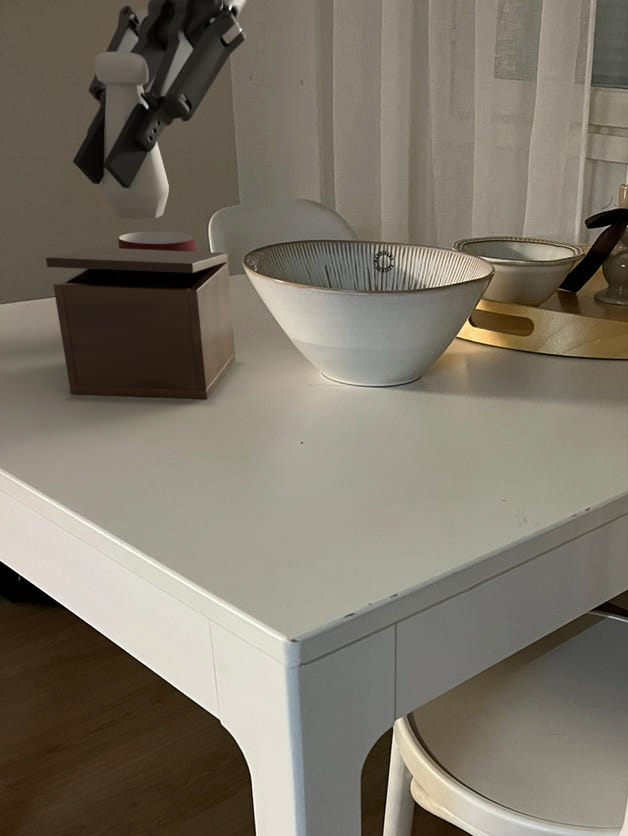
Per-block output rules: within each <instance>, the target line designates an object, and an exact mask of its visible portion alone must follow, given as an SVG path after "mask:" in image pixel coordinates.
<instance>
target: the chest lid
mask: <svg viewBox="0 0 628 836" xmlns="http://www.w3.org/2000/svg"><path fill="white" fill-rule="evenodd" d="M228 261H229V259H228V253H227V252H215V251H214V252H210V251H196V252H190V251H166V250H142V249H119V247H118V248H117V247H116V248H115V247H97V248H90V249H85V250H80V251H75V252H69V253H62V254H57V255H52V256H46V257H45V263H46V267H47V268H59V269H81V268H82V269H107V270H131V271H155V272H179V273H194V272H197V271H200V270H203V269H206V268H209V267H212V266H215V265H218V264H221V263H224V262H228Z"/></svg>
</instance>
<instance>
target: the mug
mask: <svg viewBox="0 0 628 836" xmlns="http://www.w3.org/2000/svg"><path fill="white" fill-rule="evenodd" d="M117 240H118V248H119V249H142V250H166V251H190V252H197V245H196V238H195V236H193V235H192V234H188V233H183V232H177V231H138V232H131V233H130V232H129V233H125V234H121V235H119V236H118V239H117Z"/></svg>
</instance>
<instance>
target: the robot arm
mask: <svg viewBox="0 0 628 836" xmlns="http://www.w3.org/2000/svg"><path fill="white" fill-rule="evenodd" d="M247 1H248V0H148V3H147V7H146V8H144V9H142V10H138V11H136V12H135V11H134V10H133V9H132V7H131V6H130V5H125V6H123V7H122V8H121V9H120V10H119V13H118V21H117V27H116V30H115V32H114V34H113V35H112V38H111V40H110V42H109V45H108V46H107V48H106V49H107V50H106V51H105V52H130V53H136V54H138V55H141V56H142V57H143V58H144V59H145V60H146V64H147V67H148V77H149V78H148V82H147V83H145V84H144V85H142V86H143V90H144V92H143V93H141V97H142V98H143V100H144V101H145V102H146V104H147V105H148V109H146V107H145V106H144V105H143V104H141V103H137V104H136V106H135V107H134V109H133V110H132V112H131V114H130V116H129V118H128V119H127V121H126V123H125V125H124V127H123V129H122V131H121V132H120V134H119V136H118V138H117V140H116V142H115V144H114V145H113V147H112V149H111V151H110V153H109V155H108V157H107V159H106V160H105V162H104V127H105V108H106V84H105V83H103V82H100V81H98V78H97V76H96V73H95V75H94V76H93V79H92V81H91V83H90V85H89V87H88V93H90V95H91V96H92V97H93V99H94V100H95V101H96V102H97V104H98V105H99V108H98V110H97V112H96V113H95V115H94V117H93V119H92V120H91V123H90V125H89V126H88V127H87V130H86V131H87V133H86V136H85V138H84V140H83V141H82V143H81V145H80V147H79V148H78V150H77V153H76V155H75V156H74V158H73V160H72V162H73V163H74V165H75V166H76V167H77V168H78V169H79V170H80V171H81V173H82V174H83V175H84V176H85V177H86V178H87V179H88V180H89V181H90V182H91V183H92V184H93V185H101V184H100V183H102V178H103V176H104V167H105V168H106V169H107V170H108V171H109V172H110V174H111V175H112V176H113V177H114V178H115V179H116V180H117V181H118V183H119V184H120V185H121V186H122V187H123V188H130V186H131V184H132V182H133V180H134V178H135V176H136V175H137V173H138V171H139V169H140V167H141V165H142V163H143V161H144V159H145V158H146V156H147V153H148V152H150V151H151V150H152V149H153V148H154V147H155V145H156V142H157V143H158V141H159V138H160V137H161V135H162V133H163V131H164V129H165V127H167V126H170V125H172V123H173V122H174V121H175V120H176V119H180V120H181V121H182V122H188V121H190V120H191V119H192V117H193V116H194V115H195V113H196V112H197V110H198V108H199V106H200V104H201V103H202V101H203V100H204V98H205V96H206V95H207V93H208V91H209V90H210V88H211V87H212V85H213V83H214V81H215V80H216V78H217V76H218V75H219V74H220V72H221V71H222V69H223V68H224V65H225V64H226V62H227V60H228V59H229V58H230V56H231V54H232V53H234V52H235V50H236V49H237V48H238V47H240V46H241V44H242V43H243V42H244V41H245V40H246V38H247V34H246V33H245V30H244V29H243V28H242V26H241V24H240V23H239V22H238V19H239V17H240V14H241V12H242V11H243V8H244V7H245V5H246V3H247ZM151 83H152V84H151ZM150 84H151V87H150V89H149V91H147V89H148V88H149V86H150ZM144 95H145V96H144ZM184 97H185V99H184Z"/></svg>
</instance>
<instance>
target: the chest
mask: <svg viewBox="0 0 628 836" xmlns="http://www.w3.org/2000/svg"><path fill="white" fill-rule="evenodd" d="M229 273H230V272H229V262H228V261H227V262H224V263H221V264H218V265H215V266H212V267H209V268H206V269H203V270H200V271H197V272H194V273H179V272H155V271H131V270H107V269H82V268H78V270H76V271H74V272H73V273H71V274H69V275H67V276H66V277H64V278H62V279H60V280H59V281H57V282H56V283H54V284H53V293H54V298H55V299H54V300H55V304H56V310H57V316H58V317H57V318H58V323H59V330H60V335H61V341H62V347H63V353H64V361H65V366H66V372H67V378H68V384H69V392H70V394H71V395H88V396H89V395H90V396H91V395H92V396H93V395H94V396H114V397H115V396H117V397H118V396H119V397H144V398H146V397H147V398H170V399H171V398H173V399H197V400H198V399H199V400H208V399H209V397H210V395H212V393H213V391H214V390H215V389H216V387H217V386H218V385H219V384H220V382H221V380H222V379H223V378H224V377H225V375H226V374H227V372H228V371H229V369H230V368H231V367H232V366H233V364H235V361H236V351H235V350H236V348H235V337H234V335H235V334H234V324H233V311H232V298H231V297H232V296H231V284H230V274H229Z"/></svg>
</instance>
